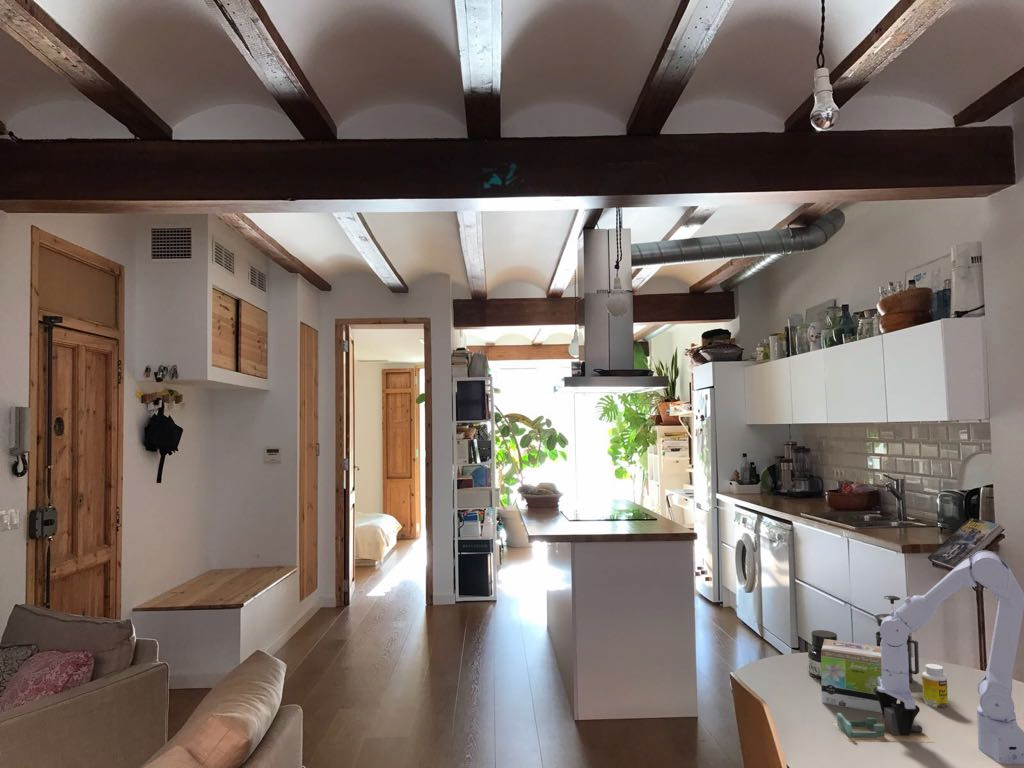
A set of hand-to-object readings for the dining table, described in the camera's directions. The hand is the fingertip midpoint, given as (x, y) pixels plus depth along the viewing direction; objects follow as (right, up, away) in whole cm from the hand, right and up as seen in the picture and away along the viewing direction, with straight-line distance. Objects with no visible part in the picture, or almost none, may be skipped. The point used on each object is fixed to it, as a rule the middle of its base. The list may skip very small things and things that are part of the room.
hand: (896, 727), depth 170 cm
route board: (-3, -2, 0) cm, 4 cm away
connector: (+2, -1, 0) cm, 2 cm away
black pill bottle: (0, -3, +38) cm, 38 cm away
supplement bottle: (+18, -2, +16) cm, 25 cm away
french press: (+19, -3, +35) cm, 40 cm away
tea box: (-1, -3, +18) cm, 18 cm away
